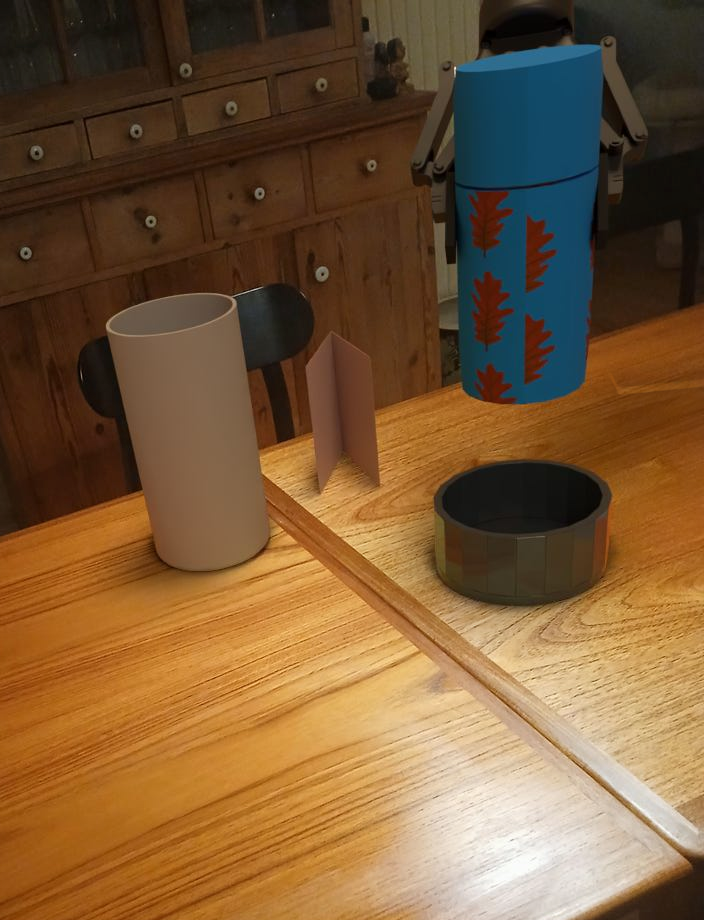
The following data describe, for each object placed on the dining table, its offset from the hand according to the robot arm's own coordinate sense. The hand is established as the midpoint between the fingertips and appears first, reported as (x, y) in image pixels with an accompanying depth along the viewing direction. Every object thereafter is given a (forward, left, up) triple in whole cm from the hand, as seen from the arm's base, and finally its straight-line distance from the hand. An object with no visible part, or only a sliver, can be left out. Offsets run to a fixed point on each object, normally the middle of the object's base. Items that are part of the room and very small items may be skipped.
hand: (524, 248), depth 78 cm
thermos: (0, -3, -12) cm, 13 cm away
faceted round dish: (0, 0, -29) cm, 29 cm away
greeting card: (+16, -23, -29) cm, 41 cm away
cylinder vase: (+31, -8, -29) cm, 43 cm away
